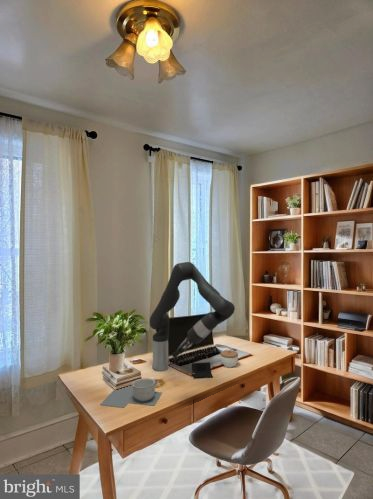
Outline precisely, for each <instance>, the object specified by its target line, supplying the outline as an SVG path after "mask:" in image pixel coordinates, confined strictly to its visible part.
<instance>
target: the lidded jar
mask: <svg viewBox="0 0 373 499" xmlns="http://www.w3.org/2000/svg"><path fill="white" fill-rule="evenodd" d="M238 360H239V352H238V351H236V350H231V349H224V350H222V351H220V361H221V363H222V365H223V366H224V367H225V368H234V367H235V366H236V365H237V363H238Z"/></svg>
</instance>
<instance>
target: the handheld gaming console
mask: <svg viewBox="0 0 373 499" xmlns="http://www.w3.org/2000/svg"><path fill="white" fill-rule="evenodd" d="M191 372H192V373H195V374H193V375H192V377H193V380H196V379H198V380H200V379H213V378H214V375H213V374H212V369H211V362H193V363H191ZM192 373H191V374H192Z"/></svg>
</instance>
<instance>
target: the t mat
mask: <svg viewBox="0 0 373 499" xmlns="http://www.w3.org/2000/svg"><path fill="white" fill-rule="evenodd" d="M130 385H131V386H128V387H125V388H122V389H119V390H114V389H113V390H112V391H110V392H111V393H109V394H108V395H107V396H106V398H104V399H103V401H102V402H101V403H100V404H99V406H106V407H107V406H108V407H114V408H120V409H121V408H122V409H123V408H125V407H126V406H127V405H128V404H132V405H133V404H134V405H143V406H152V407H155V405H156V404H157V403H158V401H159V399H160V397H161V396H162V394H163V392H162V391H161V392H160V391H155V394H154V396H153V397H152V398H151V399H150V400H148V401H138V400H137V399H136V398H135V397H134V395H133V385H132V384H130Z"/></svg>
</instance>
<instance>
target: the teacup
mask: <svg viewBox="0 0 373 499" xmlns="http://www.w3.org/2000/svg"><path fill="white" fill-rule="evenodd" d="M158 383H159V380H158V378H156V377H153V378H149V377H148V378H147V377H146V378H145V377H143V378H138V379H135V380H134V381H133V382H132V384H131V385H133V395H134V397H135V398H136V399H137V400H138V401H148V400H150V399H151V398H152V397H153V396H154V394H155V392H156V387H157V386H158Z"/></svg>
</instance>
